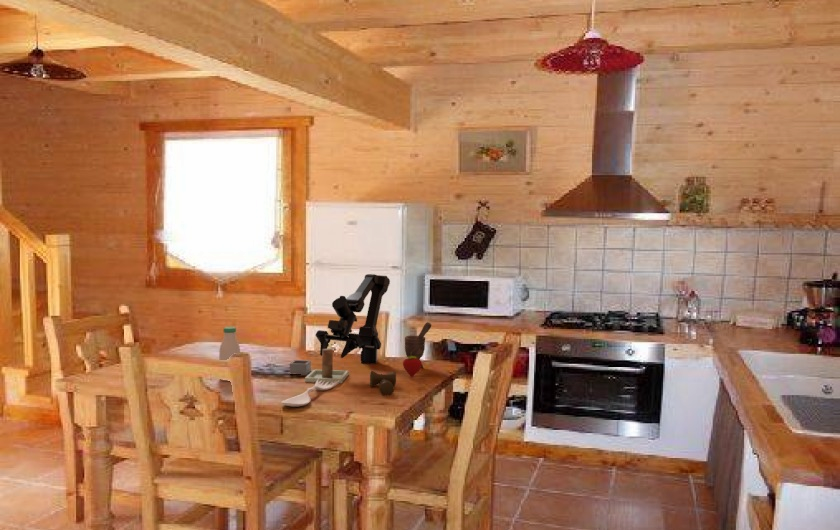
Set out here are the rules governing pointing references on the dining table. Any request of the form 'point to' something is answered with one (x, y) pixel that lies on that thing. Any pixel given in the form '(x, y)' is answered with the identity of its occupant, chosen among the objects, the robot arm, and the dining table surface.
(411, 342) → the mortar and pestle
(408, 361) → the strawberry
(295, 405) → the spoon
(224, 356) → the milk bottle
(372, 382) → the kendama
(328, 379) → the sage tray
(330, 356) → the walnut dowel
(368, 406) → the dining table surface
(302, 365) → the stoneware holder
